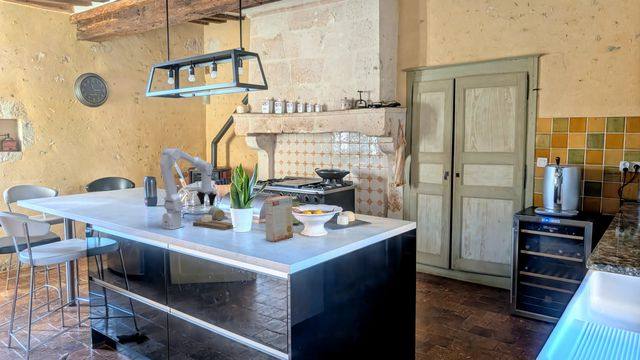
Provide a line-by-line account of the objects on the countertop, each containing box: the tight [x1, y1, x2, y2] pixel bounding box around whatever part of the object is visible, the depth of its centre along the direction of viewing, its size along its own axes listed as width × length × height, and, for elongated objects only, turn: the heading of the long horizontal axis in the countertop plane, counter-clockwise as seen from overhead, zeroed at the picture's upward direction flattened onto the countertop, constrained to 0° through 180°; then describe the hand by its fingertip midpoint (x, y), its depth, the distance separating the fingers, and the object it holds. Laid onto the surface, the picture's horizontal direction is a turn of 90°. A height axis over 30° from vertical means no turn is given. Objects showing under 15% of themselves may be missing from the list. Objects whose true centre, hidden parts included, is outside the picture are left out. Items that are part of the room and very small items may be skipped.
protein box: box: [272, 196, 300, 227], centre depth 264 cm, size 10×16×16 cm
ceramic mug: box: [207, 206, 228, 221], centre depth 278 cm, size 11×8×8 cm
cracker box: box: [264, 195, 294, 243], centre depth 226 cm, size 14×6×21 cm, turn 141°
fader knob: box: [201, 214, 213, 222], centre depth 261 cm, size 5×3×3 cm, turn 147°
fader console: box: [192, 219, 234, 231], centre depth 258 cm, size 10×24×2 cm, turn 57°
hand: (206, 205), depth 273 cm, fingers open, 7 cm apart
